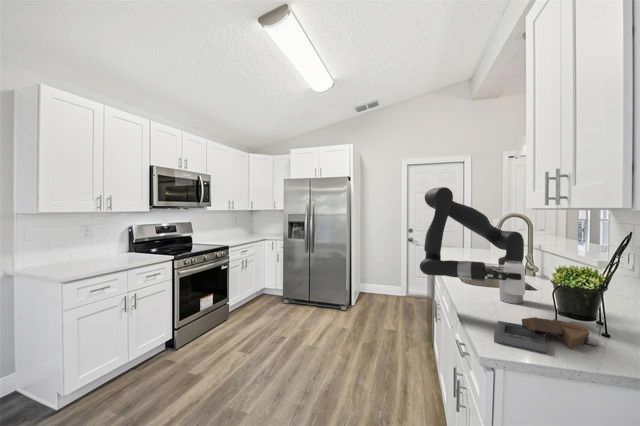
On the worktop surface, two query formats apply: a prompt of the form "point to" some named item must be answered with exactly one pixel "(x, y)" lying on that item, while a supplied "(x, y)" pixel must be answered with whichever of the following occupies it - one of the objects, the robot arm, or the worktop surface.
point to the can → (513, 285)
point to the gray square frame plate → (519, 337)
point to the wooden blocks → (561, 331)
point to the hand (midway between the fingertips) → (521, 275)
